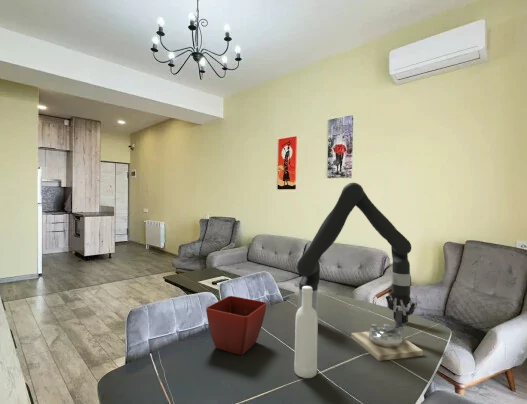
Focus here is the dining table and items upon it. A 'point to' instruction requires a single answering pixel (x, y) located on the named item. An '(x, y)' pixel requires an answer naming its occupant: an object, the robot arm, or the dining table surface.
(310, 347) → the bottle
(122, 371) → the dining table surface
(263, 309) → the plant pot
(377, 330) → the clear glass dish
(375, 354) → the base plate
